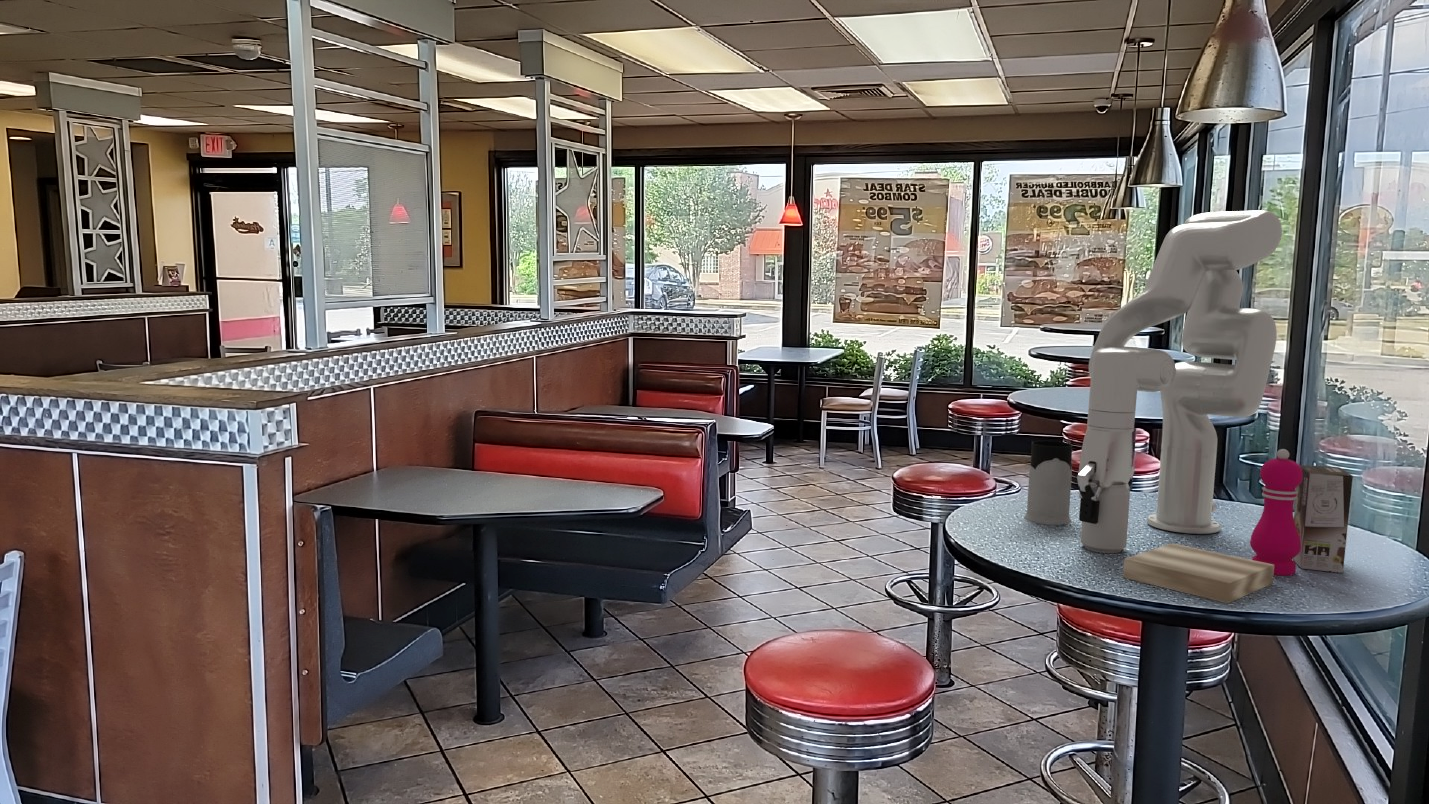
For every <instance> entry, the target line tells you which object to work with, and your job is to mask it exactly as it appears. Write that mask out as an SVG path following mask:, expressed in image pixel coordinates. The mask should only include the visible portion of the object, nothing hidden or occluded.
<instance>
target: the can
mask: <svg viewBox="0 0 1429 804" xmlns="http://www.w3.org/2000/svg"><path fill="white" fill-rule="evenodd" d="M1126 485H1127V484H1126V483H1124V484H1123V485H1112V486H1111V487H1109V488H1105V489H1103V488H1102V490H1101V492H1100V495H1099V497H1098V499H1097V500H1098V501H1100V504H1099V517H1098V523H1097V524H1092V523H1087V522H1083V521H1081V529H1080V530H1081V533H1080V543H1081V544H1082V545H1083V546H1084V548H1085V549H1086V550H1089V551H1091V552H1095V553H1101V554H1103V553H1104V554H1117V553H1121V552H1122V550H1124V549H1126V548H1127V545H1128V544H1127V542H1128V541H1127V540H1128V528H1129V527H1128V525H1129V512H1130V511H1129V510H1130V497H1131V491H1130V492H1129V491H1128V489H1127V488H1126ZM1092 490H1093V492H1094V490H1095V488H1092Z"/></svg>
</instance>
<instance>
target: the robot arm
mask: <svg viewBox="0 0 1429 804" xmlns="http://www.w3.org/2000/svg"><path fill="white" fill-rule="evenodd" d="M1282 232H1283V228H1282V223H1281V221H1280V218H1279V217H1278V216H1277V215H1276V214H1275V213H1273V212H1271V211H1270V210H1264V209H1263V210H1258V209H1257V210H1239V211H1238V210H1236V211H1235V210H1234V211H1233V210H1232V211H1212V212H1203V213H1197V214H1194V215H1191V216H1190V217H1188V218H1187V219H1185V221H1184V222H1183V224H1179V225H1177V226H1175V227H1173V228H1171V229H1170V230H1169V231H1168V233H1167V234H1166V235H1165V237H1164V239H1163V242H1162V244H1161V246H1160V249H1159V251H1158V253H1157V256H1156V258H1155V260H1154V263H1153V266H1152V269H1151V271H1150V274H1149V275H1148V278H1147V279H1146V280H1147V281H1146V282H1145V286H1144V287H1143V289H1142V291H1141V293H1139V294H1138V295H1137V296H1135V297H1134V298H1133V299H1131V300H1130V301H1128V302H1126V304H1124V305H1123V306H1122V307H1120V308H1119V309H1118V310H1117V311H1115V313H1114V314H1112V315H1111V316H1110V318H1109V319H1108V320H1107V321H1105V323H1104V324H1103V326H1102V328H1101V329H1100V331H1099V334H1098V336H1097V337H1096V338H1097V339H1096V341H1095V343H1094V346H1093V348H1092V350H1091V354H1090V357H1089V361H1088V373H1089V378H1090V382H1089V383H1090V385H1089V396H1088V397H1089V398H1088V409H1087V411H1088V412H1087V423H1086V431H1085V434H1084V437H1083V441H1082V447H1081V453H1080V459H1079V467H1078V474H1077V476H1076V480H1077V484H1078V486H1077V489H1078V492H1079V493H1078V494H1079V498H1080V502H1079V513H1078V514H1079V517H1078V520H1079V521H1080V522H1082V521H1083V522H1087V523H1092V524H1097V523H1098V517H1099V504H1100V501H1098V500H1097V499H1098V497H1099V495H1100V492H1101V490H1102V488H1103V489H1105V488H1109V487H1111V486H1112V485H1123V484H1124V483H1126V484H1127V485H1126V488H1127V489H1128V491H1129V492H1130V493H1131V488H1130V487H1131V485H1132V484H1133V477H1134V473H1135V469H1136V468H1135V467H1134V466H1133V433H1134V431H1135V420H1136V410H1137V409H1136V407H1137V399H1138V398H1137V394H1138V392H1147V393H1157V392H1160V398H1161V399H1160V400H1161V408H1162V432H1161V433H1162V434H1161V435H1162V436H1161V447H1160V450H1161V451H1160V463H1159V464H1160V465H1159V476H1158V490H1157V501H1156V502H1157V503H1156V513H1154V514H1150V515H1148V516H1147V521H1146V523H1147V524H1148V525H1150V526H1151V527H1154V528H1157V529H1160V530H1164V531H1169V532H1172V533H1173V532H1175V533H1180V534H1193V535H1208V534H1209V535H1210V534H1215V533H1217V532H1219V531H1220V529H1221V527H1220V526H1221V525H1220V523H1219V522H1218V521H1216V520H1214V519H1212V515H1213V514H1212V513H1213V512H1216V511H1217V509H1218V505H1217V504H1216V503H1215V502H1213V500H1214V488H1215V479H1216V477H1215V476H1216V474H1215V473H1216V466H1217V465H1216V464H1217V452H1218V435H1217V431H1216V428H1215V427H1214V424H1213V423H1212V420H1211V419H1210V418H1209V416H1208V415H1210V416H1211V415H1212V416H1220V417H1221V416H1222V417H1230V418H1248V417H1251V416H1253V415H1254V414H1256V412H1258V410H1259V408H1260V406H1261V403H1262V402H1263V401H1262V400H1263V398H1264V394H1265V389H1266V385H1267V382H1268V380H1269V379H1268V378H1269V374H1270V370H1271V367H1272V362H1273V358H1274V354H1275V350H1276V344H1277V335H1278V334H1277V332H1278V331H1277V326H1276V325H1277V324H1276V322H1275V319H1274V318H1273V316H1272V315H1271V314H1270V313H1269V312H1267V311H1265V310H1262V309H1259V308H1242V307H1241V308H1240V306H1241V302H1242V296H1243V293H1244V283H1243V279H1242V277H1241V276H1240V274H1239V273H1238V271H1239V270H1241V269H1242V270H1243V269H1245V268H1248V267H1250V266H1252V265H1254V264H1256V263H1259V262H1260V261H1263V260H1264V259H1266V258H1268V257H1270V256H1271V255H1273V253H1274V252H1275V251H1276V249H1277V248H1278V247H1279V244H1280V242H1281V239H1282V235H1283V234H1282ZM1185 314H1186V317H1185V321H1184V324H1183V329H1182V335H1181V345H1182V348H1183V350H1184V351H1185V352H1186V353H1188V354H1189V355H1192V356H1195V357H1199V358H1207V359H1209V358H1210V359H1220V360H1222V359H1223V360H1233V361H1234V360H1236V361H1235V364H1226V363H1225V364H1224V363H1216V362H1206V361H1205V362H1204V361H1203V362H1202V361H1180V362H1175V360H1174V359H1173V357H1172V356H1171V355H1170V354H1169V353H1167V352H1166V351H1164V350H1161V349H1157V348H1156V349H1155V348H1145V347H1144V348H1143V347H1133V346H1126V344H1127V343H1128V342H1129V341H1130V339H1132V338H1133V337H1134V336H1136V335H1137V334H1139V333H1141V332H1142V331H1145V330H1146V329H1149V328H1151V327H1154V326H1157V325H1160V324H1162V323H1165V322H1168V321H1171V320H1173V319H1176V318H1179V317H1181V316H1183V315H1185ZM1092 488H1095V490H1094V492H1093V490H1092Z"/></svg>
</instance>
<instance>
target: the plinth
mask: <svg viewBox="0 0 1429 804" xmlns="http://www.w3.org/2000/svg"><path fill="white" fill-rule="evenodd" d="M1122 573H1123V574H1122V578H1124V579H1129V580H1132V581H1136V582H1140V583H1144V584H1147V585H1153V586H1156V587H1161V588H1164V589H1169V590H1173V591H1177V592H1181V593H1185V594H1189V595H1194V596H1197V597H1201V598H1206V599H1209V600H1212V601H1213V600H1214V601H1217V602H1221V603H1225V604H1230V603H1231V602H1234V601H1237V600H1238V599H1241V598H1244V597H1246V596H1248V595H1250V594H1252V593H1254V592H1257V591H1259V590H1261V589H1264V588H1265V587H1268V586H1270V585H1273V584H1274V576H1275V575H1274V565H1273V564H1269V563H1264V562H1259V561H1254V560H1252V559H1249V558H1244V557H1239V556H1234V555H1229V554H1226V553H1220V552H1215V551H1211V550H1206V549H1203V548H1202V549H1201V548H1196V547H1193V546H1188V545H1182V544H1177V543H1174V542H1173V543H1169V544H1166V545H1162V546H1158V547H1156V548H1154V549H1150V550H1147V551H1144V552H1141V553H1138V554H1136V555H1135V554H1134V555H1132V556H1128V557H1126V558H1124V559H1123V572H1122Z"/></svg>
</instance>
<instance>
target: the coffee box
mask: <svg viewBox="0 0 1429 804" xmlns="http://www.w3.org/2000/svg"><path fill="white" fill-rule="evenodd" d="M1298 465H1299V466H1300V467H1301V469H1302V472H1303V479H1302V482H1301V483H1300V484H1299V485H1298V486H1297V487H1296V489H1295V490H1297V491H1298V493H1297V499H1296V500H1294V510H1293V518H1294V523H1295V526H1296V528H1297V531H1298V533H1299V536H1300V541H1301V550H1300V552H1299V554H1298V555H1296V556H1295V557H1294V558H1293V559H1292V560H1293V561H1294V562H1295V563H1296V565H1297V566H1299V568H1300V569H1302V570H1311V571H1322V572H1329V571H1331V572H1330V573H1337V572H1338V573H1337V574H1342V573H1343V574H1344V567H1345V565H1344V564H1345V557H1346V556H1345V555H1346V546H1347V536H1348V535H1347V534H1348V526H1349V517H1350V506H1351V499H1352V498H1351V497H1352V490H1353V489H1352V487H1353V478H1354V476H1353V475H1352V474H1351V473H1349V472H1347V471H1346V470H1344V469H1342V468H1341V467H1340V466H1330V465H1329V466H1327V465H1304V464H1303V465H1301V464H1298Z"/></svg>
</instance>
